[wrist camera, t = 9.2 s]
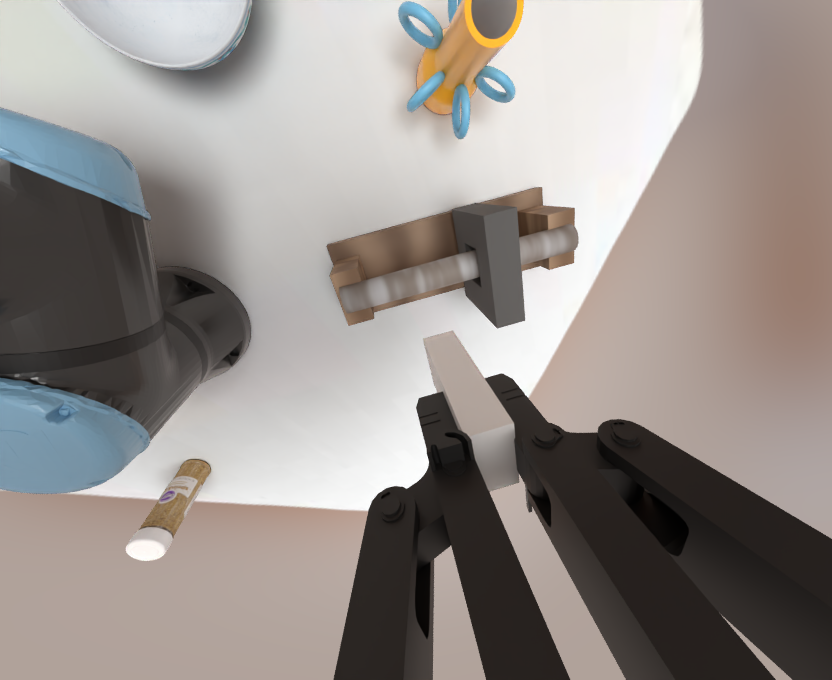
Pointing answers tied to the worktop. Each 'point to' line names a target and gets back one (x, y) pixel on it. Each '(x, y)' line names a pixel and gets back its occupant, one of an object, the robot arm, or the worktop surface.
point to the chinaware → (165, 28)
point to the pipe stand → (439, 256)
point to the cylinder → (461, 55)
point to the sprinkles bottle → (168, 512)
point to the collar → (493, 260)
